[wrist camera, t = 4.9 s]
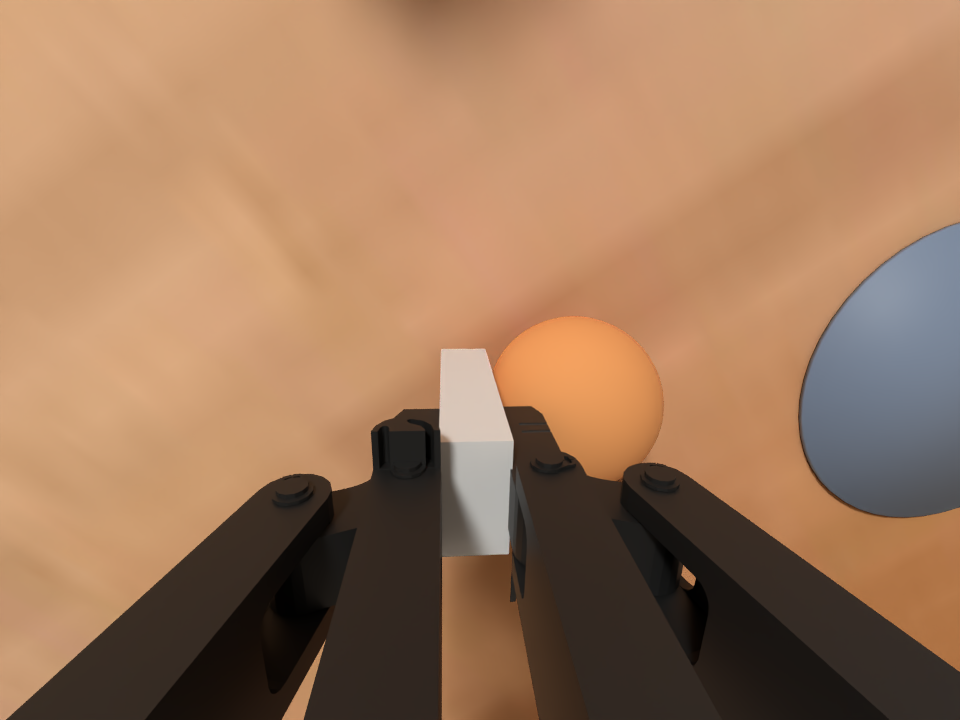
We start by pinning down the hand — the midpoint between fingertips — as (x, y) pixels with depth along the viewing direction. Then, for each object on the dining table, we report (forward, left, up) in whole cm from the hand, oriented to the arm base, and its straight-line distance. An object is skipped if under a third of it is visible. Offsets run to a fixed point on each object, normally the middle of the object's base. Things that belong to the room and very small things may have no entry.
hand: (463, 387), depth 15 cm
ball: (0, -4, +1) cm, 4 cm away
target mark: (0, -20, -2) cm, 20 cm away
